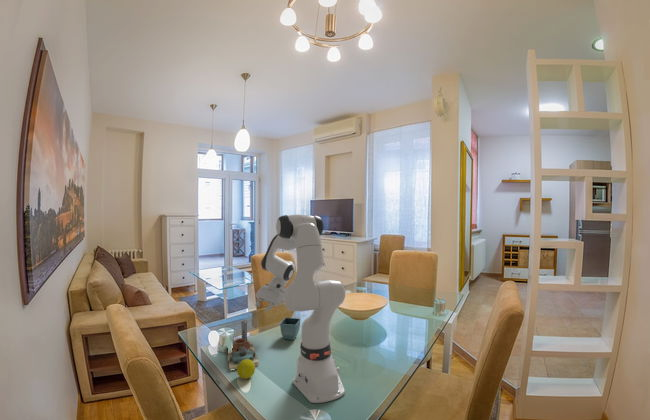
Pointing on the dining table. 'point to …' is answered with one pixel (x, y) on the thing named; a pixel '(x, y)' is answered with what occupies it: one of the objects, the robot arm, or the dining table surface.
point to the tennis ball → (246, 369)
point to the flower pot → (290, 328)
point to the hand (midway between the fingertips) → (261, 308)
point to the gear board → (241, 353)
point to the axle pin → (244, 329)
